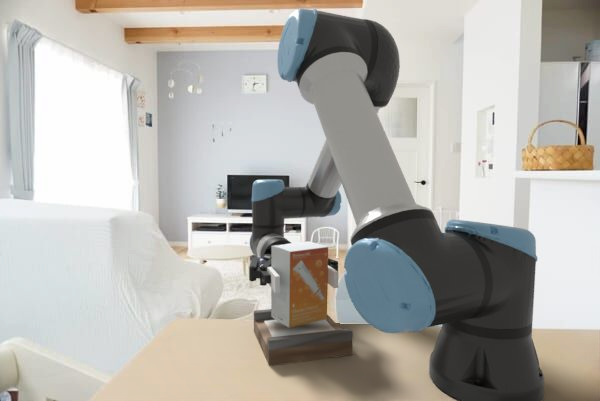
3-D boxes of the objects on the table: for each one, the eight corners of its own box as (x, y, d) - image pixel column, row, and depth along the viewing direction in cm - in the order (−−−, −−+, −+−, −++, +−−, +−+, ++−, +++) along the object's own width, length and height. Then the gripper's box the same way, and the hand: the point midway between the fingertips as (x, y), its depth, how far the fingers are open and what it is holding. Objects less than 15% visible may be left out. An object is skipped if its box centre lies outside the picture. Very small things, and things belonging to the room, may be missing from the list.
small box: (289, 329, 69) (289, 251, 68) (270, 317, 75) (270, 245, 74) (328, 319, 74) (329, 246, 73) (308, 308, 79) (308, 240, 78)
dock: (352, 354, 69) (352, 331, 69) (269, 365, 66) (268, 340, 65) (324, 323, 83) (324, 304, 83) (253, 331, 79) (253, 310, 79)
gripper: (325, 268, 94) (368, 299, 72) (225, 274, 88) (240, 310, 66) (325, 234, 93) (369, 255, 72) (225, 239, 87) (239, 263, 66)
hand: (307, 282), depth 69 cm, fingers closed on small box, 9 cm apart
